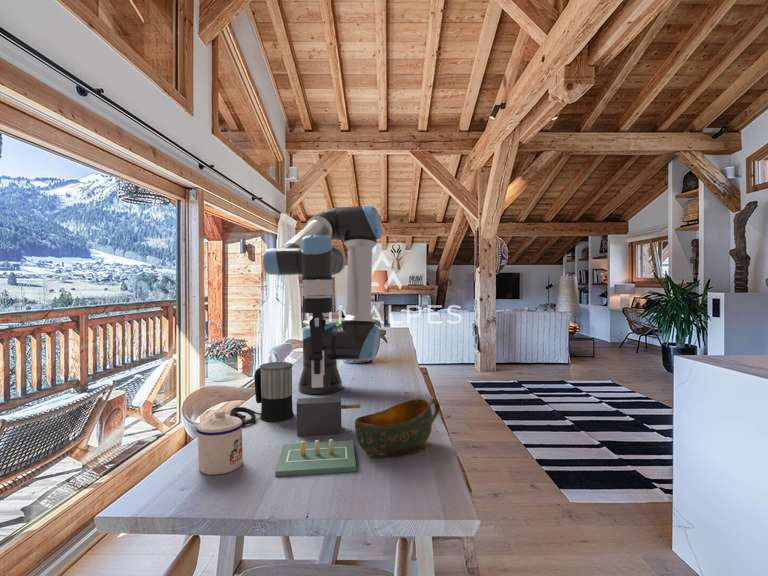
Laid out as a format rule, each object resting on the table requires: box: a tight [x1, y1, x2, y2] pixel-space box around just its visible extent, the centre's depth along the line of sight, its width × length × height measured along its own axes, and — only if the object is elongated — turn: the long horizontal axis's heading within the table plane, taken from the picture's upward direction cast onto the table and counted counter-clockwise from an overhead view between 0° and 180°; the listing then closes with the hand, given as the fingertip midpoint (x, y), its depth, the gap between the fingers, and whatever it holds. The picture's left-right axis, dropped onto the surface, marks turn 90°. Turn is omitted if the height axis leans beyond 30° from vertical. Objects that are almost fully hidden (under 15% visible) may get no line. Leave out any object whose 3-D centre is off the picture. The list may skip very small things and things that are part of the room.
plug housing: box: [296, 396, 361, 437], centre depth 111 cm, size 5×16×8 cm, turn 97°
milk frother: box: [229, 361, 294, 426], centre depth 120 cm, size 14×16×15 cm
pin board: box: [274, 438, 357, 477], centre depth 94 cm, size 14×16×4 cm
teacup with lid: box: [196, 409, 244, 476], centre depth 92 cm, size 12×9×12 cm
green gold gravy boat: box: [354, 398, 441, 459], centre depth 99 cm, size 13×20×10 cm, turn 92°
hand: (318, 380), depth 110 cm, fingers open, 13 cm apart
